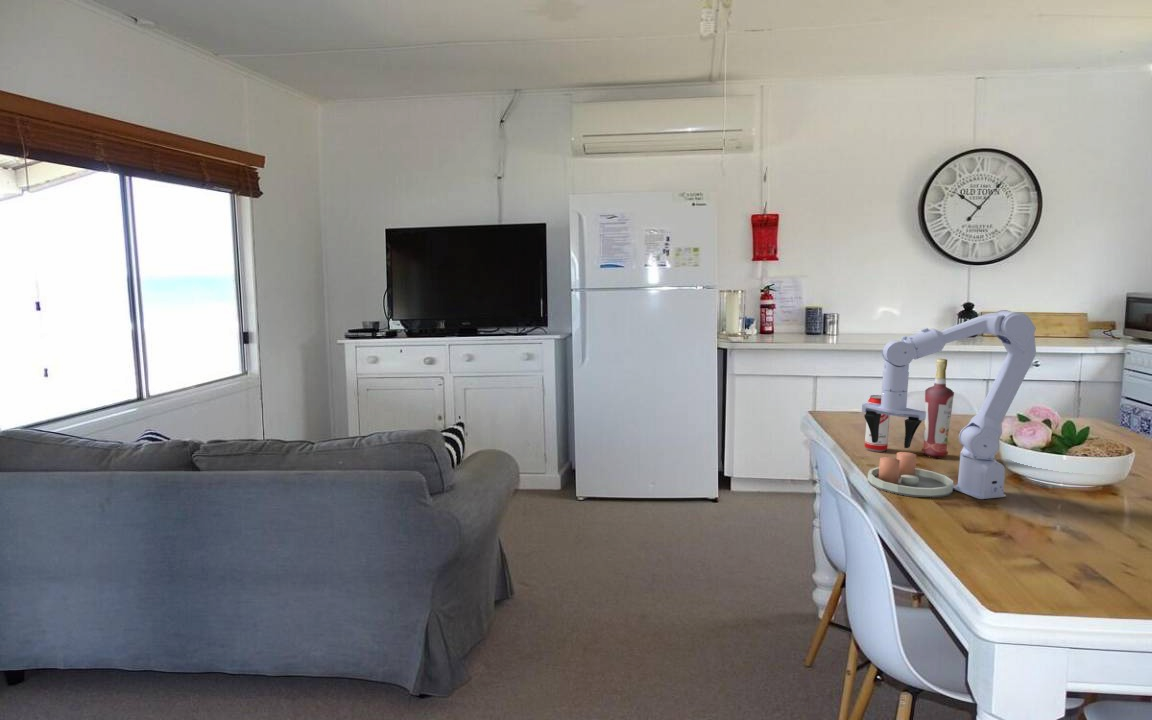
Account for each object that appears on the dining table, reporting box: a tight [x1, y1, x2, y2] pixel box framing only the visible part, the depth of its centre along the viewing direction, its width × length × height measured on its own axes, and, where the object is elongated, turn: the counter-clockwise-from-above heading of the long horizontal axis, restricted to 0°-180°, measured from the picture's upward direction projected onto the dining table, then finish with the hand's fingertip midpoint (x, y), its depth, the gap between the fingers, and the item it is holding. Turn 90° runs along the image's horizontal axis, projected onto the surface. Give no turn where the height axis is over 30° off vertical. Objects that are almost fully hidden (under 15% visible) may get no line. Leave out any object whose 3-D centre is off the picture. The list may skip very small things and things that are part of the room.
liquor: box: [921, 358, 955, 459], centre depth 205 cm, size 7×7×28 cm
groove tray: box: [867, 466, 954, 499], centre depth 178 cm, size 19×19×2 cm
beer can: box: [864, 394, 891, 453], centre depth 212 cm, size 6×6×16 cm
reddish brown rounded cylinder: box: [878, 456, 900, 485], centre depth 177 cm, size 4×4×6 cm
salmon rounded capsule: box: [896, 451, 917, 479], centre depth 183 cm, size 4×4×6 cm
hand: (890, 444), depth 177 cm, fingers open, 7 cm apart
